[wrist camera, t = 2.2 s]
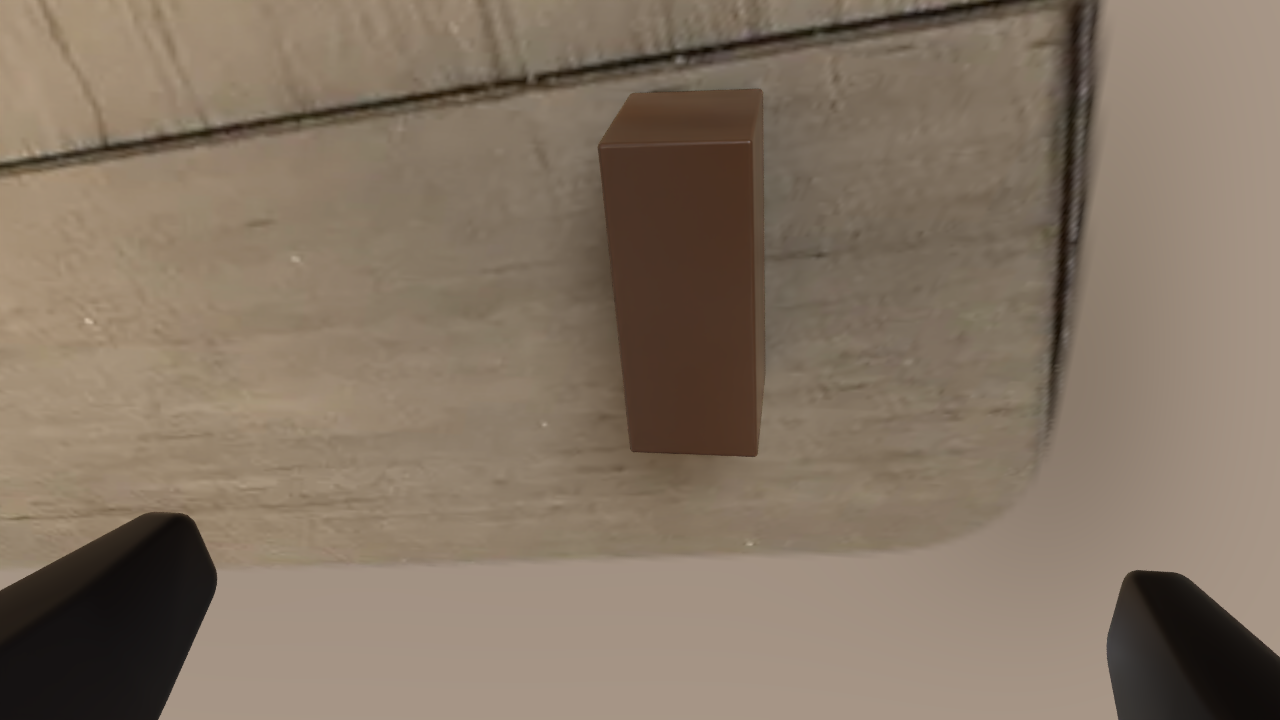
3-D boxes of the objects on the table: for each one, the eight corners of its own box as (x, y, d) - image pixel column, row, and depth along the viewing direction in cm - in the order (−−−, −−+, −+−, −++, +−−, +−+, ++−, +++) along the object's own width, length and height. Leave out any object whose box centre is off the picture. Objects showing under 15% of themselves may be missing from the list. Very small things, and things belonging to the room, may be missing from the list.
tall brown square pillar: (762, 87, 13) (752, 139, 11) (765, 374, 16) (757, 458, 14) (629, 92, 14) (596, 144, 12) (653, 371, 16) (629, 453, 14)
